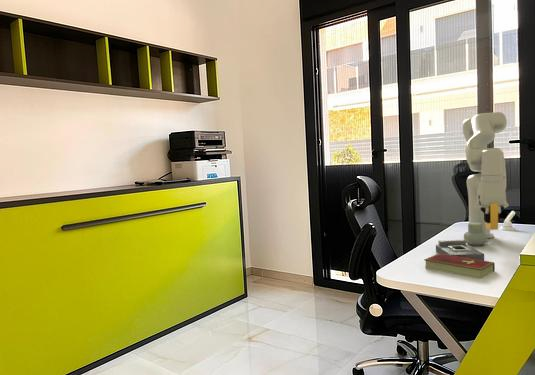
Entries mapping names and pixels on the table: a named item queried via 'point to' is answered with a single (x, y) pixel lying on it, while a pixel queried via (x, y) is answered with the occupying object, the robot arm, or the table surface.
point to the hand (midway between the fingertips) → (491, 222)
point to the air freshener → (475, 235)
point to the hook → (508, 223)
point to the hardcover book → (460, 265)
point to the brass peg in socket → (493, 217)
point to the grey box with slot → (458, 249)
